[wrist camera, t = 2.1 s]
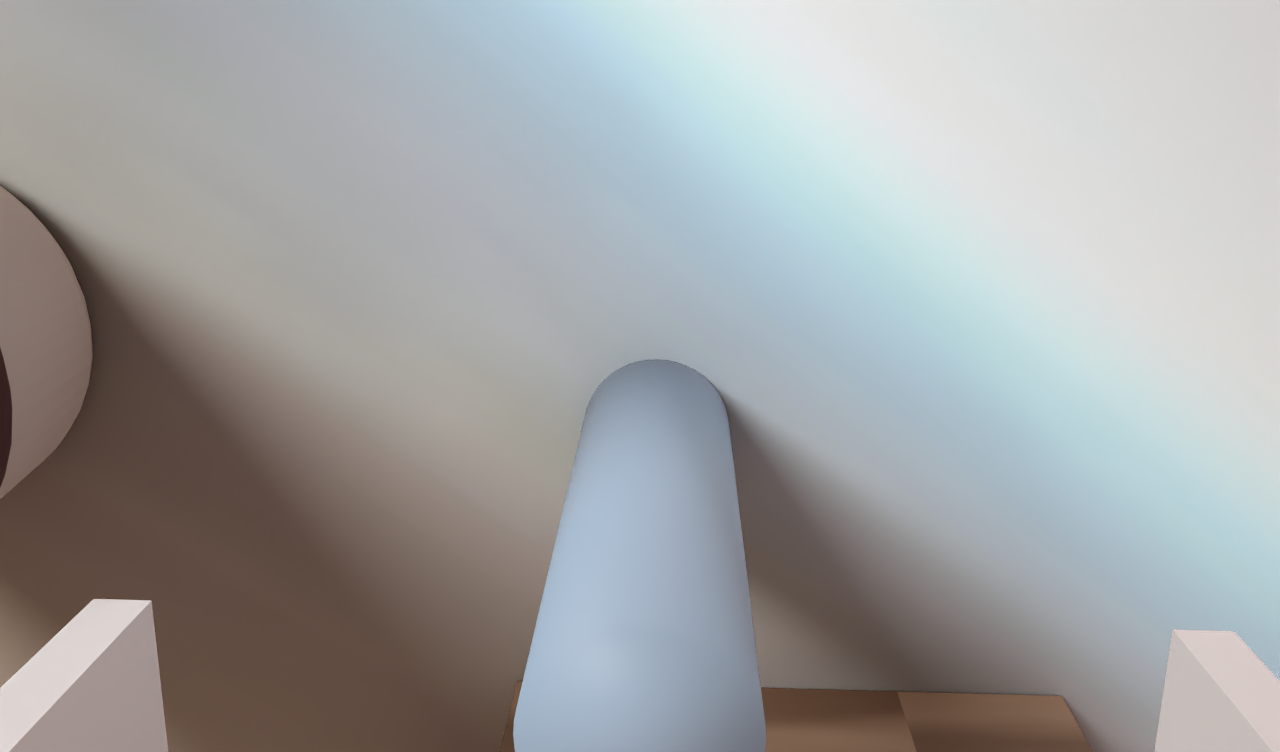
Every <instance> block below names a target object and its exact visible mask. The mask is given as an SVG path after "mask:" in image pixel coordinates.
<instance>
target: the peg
mask: <svg viewBox="0 0 1280 752" xmlns="http://www.w3.org/2000/svg"><path fill="white" fill-rule="evenodd" d="M513 738H514V749H515V752H765V747H766V726H765V718H764V709H763V701H762V693H761V685H760V676H759V668H758V660H757V652H756V643H755V635H754V627H753V619H752V610H751V602H750V594H749V586H748V578H747V569H746V561H745V553H744V545H743V536H742V528H741V520H740V512H739V503H738V495H737V487H736V479H735V470H734V462H733V454H732V446H731V437H730V429H729V421H728V415H727V411H726V408H725V405H724V403H723V401H722V398H721V396H720V395H719V393H718V392H717V390H716V389H715V387H714V386H713V385H712V384H711V383H710V382H709V381H708V380H707V379H706V378H705V377H704V376H703V375H701V374H700V373H698V372H697V371H695V370H694V369H692V368H690V367H688V366H686V365H683V364H680V363H677V362H673V361H668V360H644V361H638V362H635V363H632V364H629V365H627V366H624V367H622V368H620V369H618V370H617V371H615V372H614V373H612V374H611V375H610V376H608V377H607V378H606V379H605V380H604V381H603V382H602V383H601V384H600V385H599V386H598V388H597V389H596V391H595V392H594V394H593V395H592V397H591V399H590V401H589V404H588V407H587V409H586V414H585V418H584V422H583V426H582V431H581V435H580V439H579V443H578V448H577V452H576V456H575V460H574V465H573V469H572V473H571V477H570V482H569V486H568V490H567V494H566V499H565V503H564V507H563V512H562V516H561V520H560V524H559V529H558V533H557V537H556V541H555V546H554V550H553V554H552V558H551V563H550V567H549V571H548V575H547V580H546V584H545V588H544V592H543V597H542V601H541V605H540V610H539V614H538V618H537V622H536V627H535V631H534V635H533V639H532V644H531V648H530V652H529V656H528V661H527V665H526V669H525V673H524V678H523V682H522V686H521V690H520V695H519V699H518V703H517V708H516V713H515V717H514V728H513Z"/></svg>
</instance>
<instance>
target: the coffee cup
mask: <svg viewBox="0 0 1280 752" xmlns="http://www.w3.org/2000/svg"><path fill="white" fill-rule="evenodd" d="M92 358H93V354H92V338H91V325H90V320H89V315H88V311H87V306H86V302H85V297H84V295H83V293H82V290H81V288H80V285H79V283H78V281H77V278H76V276H75V273H74V271H73V269H72V266H71V264H70V262H69V261H68V259H67V257H66V256H65V254H64V252H63V251H62V249H61V248H60V246H59V245H58V244H57V242H56V241H55V239H54V238H53V236H52V235H51V234H50V232H49V231H48V230H47V229H46V228H45V226H44V225H43V224H42V223H41V222H40V221H39V220H38V219H37V218H36V216H35V215H34V214H33V213H32V212H31V211H30V210H29V209H28V208H27V207H25V206H24V205H23V204H22V203H21V202H20V201H19V200H18V199H16V198H15V197H14V196H13V195H12V194H10V193H9V192H8V191H7V190H5V189H4V188H3V187H2V186H0V499H1V498H2V497H3V496H5V495H6V494H7V493H8V492H9V491H10V490H11V489H13V488H14V487H15V486H16V485H17V484H18V483H19V482H20V481H22V480H23V479H24V478H25V477H26V476H27V475H28V474H30V473H31V472H32V471H33V470H34V469H35V468H36V467H37V466H39V465H40V464H41V463H42V462H43V461H44V460H45V459H46V458H47V457H48V456H49V455H50V454H51V453H52V452H53V451H54V450H55V449H56V448H57V447H58V446H59V444H60V443H61V442H62V440H63V439H64V438H65V436H66V434H67V433H68V431H69V430H70V428H71V426H72V425H73V423H74V421H75V419H76V417H77V416H78V414H79V412H80V410H81V407H82V404H83V401H84V398H85V395H86V392H87V388H88V385H89V380H90V372H91V365H92Z"/></svg>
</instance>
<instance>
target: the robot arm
mask: <svg viewBox="0 0 1280 752" xmlns="http://www.w3.org/2000/svg"><path fill="white" fill-rule="evenodd" d="M0 752H168V744H167V735H166V726H165V717H164V708H163V699H162V690H161V681H160V672H159V663H158V654H157V646H156V637H155V628H154V619H153V610H152V601H151V600H116V599H93V600H92V601H91V602H90V603H89V604H88V605H87V606H86V607H85V608H84V609H82V610H81V611H80V612H79V613H78V614H77V615H76V616H75V617H74V618H73V619H72V620H71V621H70V622H69V623H68V624H67V625H66V626H65V627H64V628H63V629H61V630H60V631H59V632H58V633H57V634H56V635H55V636H54V637H53V638H52V639H51V640H50V641H49V642H48V643H47V644H46V645H45V646H44V647H43V648H42V649H41V650H39V651H38V652H37V653H36V654H35V655H34V656H33V657H32V658H31V659H30V660H29V661H28V662H27V663H26V664H25V665H24V666H23V667H22V668H21V669H20V670H19V671H17V672H16V673H15V674H14V675H13V676H12V677H11V678H10V679H9V680H8V681H7V682H6V683H5V684H4V685H3V686H2V687H1V688H0ZM1154 752H1280V681H1279V680H1278V678H1277V677H1276V676H1275V675H1274V674H1273V673H1272V672H1271V671H1270V670H1269V669H1268V668H1267V667H1266V665H1265V664H1264V663H1263V662H1262V661H1261V660H1260V659H1259V658H1258V657H1257V656H1256V655H1255V653H1254V652H1253V651H1252V650H1251V649H1250V648H1249V647H1248V646H1247V645H1246V644H1245V643H1244V641H1243V640H1242V639H1241V638H1240V637H1239V636H1238V635H1237V634H1236V633H1235V632H1234V631H1209V630H1174V629H1173V631H1172V638H1171V645H1170V651H1169V658H1168V664H1167V671H1166V678H1165V684H1164V691H1163V698H1162V704H1161V711H1160V718H1159V724H1158V731H1157V737H1156V744H1155V751H1154Z"/></svg>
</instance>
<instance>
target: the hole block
mask: <svg viewBox="0 0 1280 752" xmlns="http://www.w3.org/2000/svg"><path fill="white" fill-rule="evenodd" d="M522 682H523V681H517V684H516V688H515V692H514V696H513V700H512V704H511V708H510V713H509V717H508V721H507V725H506V729H505V733H504V737H503V742H502V746H501V750H500V752H515V749H514V738H513V728H514V717H515V713H516V708H517V703H518V699H519V695H520V690H521V686H522ZM761 693H762V701H763V709H764V718H765V726H766V747H765V752H1093V750H1092V749H1091V747H1090V745H1089V743H1088V741H1087V740H1086V738H1085V736H1084V734H1083V733H1082V731H1081V729H1080V727H1079V725H1078V724H1077V722H1076V720H1075V718H1074V716H1073V715H1072V713H1071V711H1070V709H1069V708H1068V706H1067V704H1066V702H1065V700H1064V699H1063V697H1062V696H1047V695H1009V694H972V693H935V692H898V691H861V690H823V689H786V688H761Z"/></svg>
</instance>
